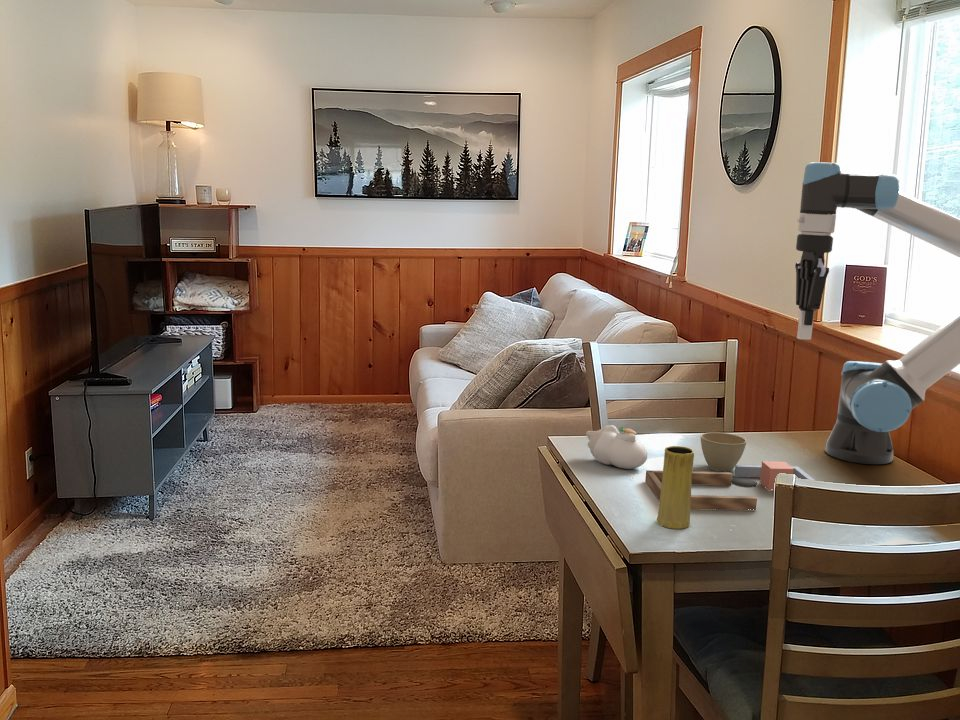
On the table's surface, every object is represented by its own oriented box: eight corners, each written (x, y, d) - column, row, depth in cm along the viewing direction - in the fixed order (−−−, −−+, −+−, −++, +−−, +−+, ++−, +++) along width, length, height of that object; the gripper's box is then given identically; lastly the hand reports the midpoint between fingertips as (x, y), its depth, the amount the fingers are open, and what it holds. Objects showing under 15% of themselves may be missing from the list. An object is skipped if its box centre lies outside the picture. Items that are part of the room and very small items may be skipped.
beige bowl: (745, 477, 199) (748, 445, 198) (698, 472, 201) (701, 441, 200) (741, 464, 209) (744, 434, 208) (697, 460, 211) (699, 430, 209)
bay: (796, 476, 201) (797, 466, 201) (815, 492, 191) (816, 481, 191) (734, 475, 200) (735, 465, 200) (749, 490, 190) (750, 479, 190)
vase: (695, 523, 170) (702, 450, 167) (679, 532, 165) (686, 456, 163) (667, 515, 174) (673, 443, 171) (650, 523, 169) (656, 449, 167)
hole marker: (752, 479, 198) (752, 477, 198) (760, 487, 193) (761, 485, 193) (727, 478, 198) (727, 477, 198) (735, 486, 193) (736, 485, 193)
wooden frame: (729, 483, 194) (730, 472, 194) (755, 510, 178) (757, 498, 178) (645, 481, 193) (646, 470, 193) (664, 508, 177) (665, 496, 177)
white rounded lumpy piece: (653, 430, 199) (592, 410, 207) (636, 455, 194) (575, 434, 202) (655, 459, 205) (596, 440, 213) (639, 484, 200) (580, 463, 208)
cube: (782, 484, 196) (784, 461, 195) (791, 491, 191) (794, 469, 190) (759, 483, 196) (762, 461, 195) (768, 491, 191) (770, 468, 190)
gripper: (787, 231, 207) (777, 333, 212) (810, 234, 194) (799, 343, 199) (819, 232, 208) (808, 334, 212) (845, 236, 195) (832, 344, 199)
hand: (803, 338), depth 205 cm, fingers closed
